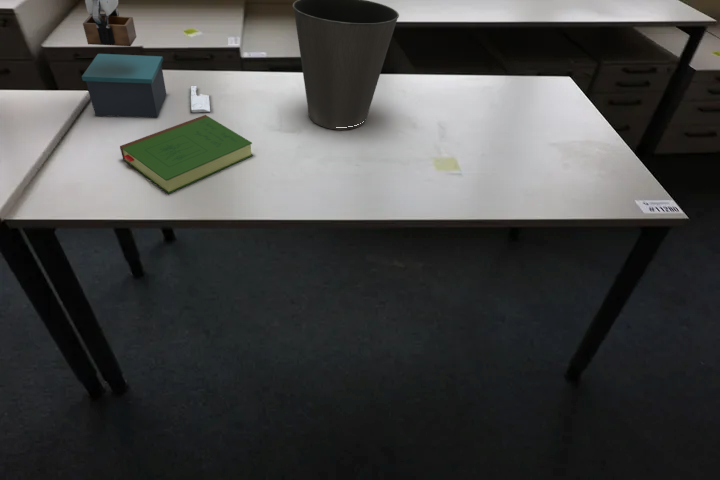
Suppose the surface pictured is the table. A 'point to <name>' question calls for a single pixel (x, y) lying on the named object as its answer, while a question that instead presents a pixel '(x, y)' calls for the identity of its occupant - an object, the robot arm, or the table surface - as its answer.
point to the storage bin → (126, 85)
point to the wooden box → (120, 28)
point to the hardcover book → (186, 152)
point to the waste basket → (342, 57)
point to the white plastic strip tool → (199, 101)
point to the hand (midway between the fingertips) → (112, 37)
